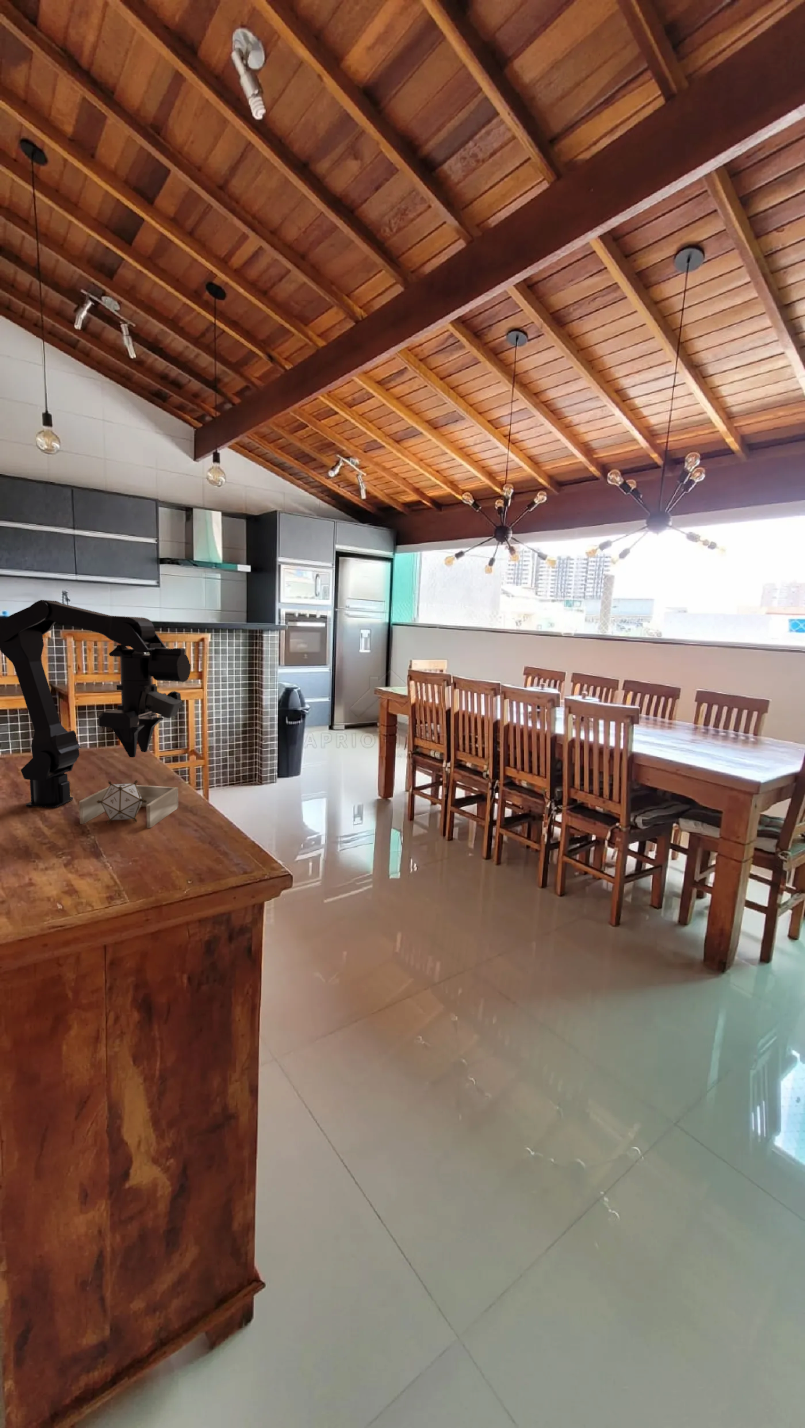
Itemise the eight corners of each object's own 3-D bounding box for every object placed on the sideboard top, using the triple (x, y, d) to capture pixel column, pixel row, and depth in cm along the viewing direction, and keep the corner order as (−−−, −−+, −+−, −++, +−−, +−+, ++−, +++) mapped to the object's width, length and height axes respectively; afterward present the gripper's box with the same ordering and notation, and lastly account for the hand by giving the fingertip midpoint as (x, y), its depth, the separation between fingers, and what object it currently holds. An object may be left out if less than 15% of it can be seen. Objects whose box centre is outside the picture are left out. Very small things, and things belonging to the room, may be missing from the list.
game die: (126, 841, 115) (121, 812, 108) (91, 822, 116) (83, 792, 109) (157, 809, 121) (154, 780, 114) (123, 791, 122) (118, 761, 115)
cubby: (79, 823, 113) (78, 801, 112) (114, 804, 125) (113, 783, 125) (150, 827, 112) (149, 805, 112) (178, 807, 125) (177, 787, 124)
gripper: (153, 686, 108) (155, 767, 111) (193, 677, 127) (194, 747, 129) (95, 683, 109) (98, 764, 111) (143, 675, 127) (145, 744, 130)
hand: (138, 754), depth 120 cm, fingers open, 5 cm apart
